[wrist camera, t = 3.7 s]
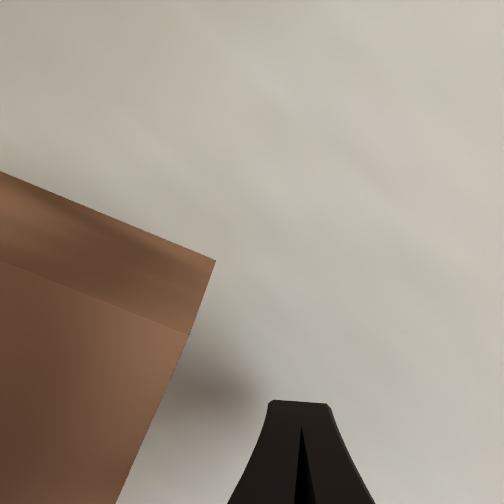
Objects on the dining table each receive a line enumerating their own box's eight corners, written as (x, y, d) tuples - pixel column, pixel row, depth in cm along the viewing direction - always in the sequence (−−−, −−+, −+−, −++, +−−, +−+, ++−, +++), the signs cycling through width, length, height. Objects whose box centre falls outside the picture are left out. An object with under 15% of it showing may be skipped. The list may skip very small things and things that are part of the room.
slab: (-74, 446, 15) (-174, 555, 12) (-23, 155, 11) (-153, 200, 8) (107, 511, 15) (58, 632, 12) (218, 255, 12) (189, 335, 8)
